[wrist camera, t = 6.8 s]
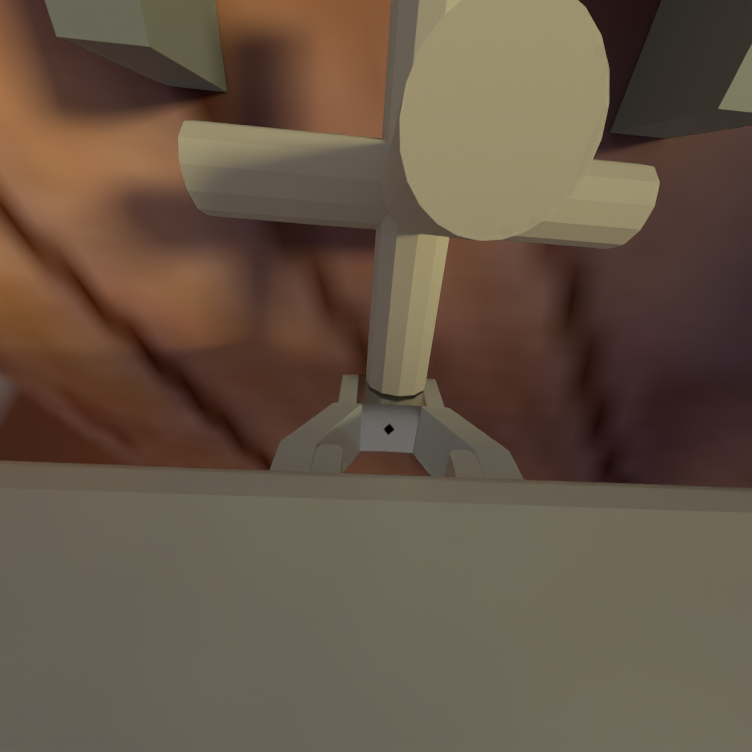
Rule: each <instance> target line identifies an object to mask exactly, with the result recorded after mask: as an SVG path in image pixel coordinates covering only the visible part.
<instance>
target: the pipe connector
mask: <svg viewBox="0 0 752 752" xmlns="http://www.w3.org/2000/svg"><path fill="white" fill-rule="evenodd" d="M608 107H609V65H608V60H607V56H606V52H605V48H604V43H603V39H602V35H601V33H600V32H599V30H598V28H597V26H596V24H595V23H594V21H593V19H592V17H591V16H590V14H589V12H588V10H587V8H586V7H585V6H584V5H583V4H582V3H581V2H579V1H578V0H392V1H391V16H390V30H389V45H388V60H387V75H386V89H385V104H384V119H383V134H382V139H380V138H370V137H360V136H350V135H339V134H329V133H319V132H309V131H298V130H288V129H278V128H268V127H257V126H247V125H237V124H227V123H216V122H206V121H196V120H192V121H184V122H183V125H182V127H181V130H180V133H179V135H178V147H179V164H180V168H181V171H182V175H183V178H184V182H185V185H186V189H187V191H188V193H189V195H190V196H191V198H192V200H193V202H194V203H195V205H196V207H197V209H199V210H200V211H202V212H203V213H205V214H206V215H208V216H217V217H229V218H241V219H253V220H265V221H277V222H289V223H301V224H313V225H325V226H337V227H349V228H361V229H373V230H376V237H375V252H374V266H373V281H372V296H371V311H370V325H369V340H368V355H367V370H366V381H367V383H368V384H369V386H370V387H371V388H373V389H375V390H377V391H379V392H380V393H383V394H389V395H394V396H408V395H415V394H417V393H419V392H421V391H423V390H424V388H425V383H426V377H427V371H428V365H429V359H430V353H431V347H432V341H433V334H434V328H435V322H436V316H437V310H438V304H439V298H440V292H441V286H442V279H443V273H444V267H445V261H446V255H447V249H448V243H449V237H452V238H460V239H468V240H476V241H486V240H505V241H517V242H530V243H542V244H554V245H566V246H578V247H590V248H602V249H610V248H614V247H617V246H621V245H624V244H625V243H626V242H627V241H628V240H630V239H631V238H632V237H633V236H634V235H635V234H636V233H637V232H639V231H640V230H641V228H642V227H643V225H644V223H645V222H646V220H647V218H648V217H649V215H650V213H651V212H652V210H653V208H654V207H655V203H656V198H657V194H658V189H659V185H660V181H659V178H658V176H657V173H656V170H655V167H654V166H648V165H643V164H637V163H626V162H616V161H606V160H596V159H593V158H594V156H595V153H596V151H597V148H598V146H599V144H600V141H601V139H602V135H603V131H604V126H605V121H606V117H607V112H608Z"/></svg>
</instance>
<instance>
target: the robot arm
mask: <svg viewBox="0 0 752 752" xmlns="http://www.w3.org/2000/svg"><path fill="white" fill-rule="evenodd" d="M360 451H389V452H404V453H413V455H414V456H415V457H416V458H417V459H418V461H419V462H420V463H421V464H422V466H423V467H424V468H425V469H426V471H427V472H428V473H429V474H430V475H431V476H411V475H384V474H356V473H344V471H345V470H346V469H347V468H348V466H349V465H350V464H351V463H352V461H353V460H354V459H355V458H356V456H357V455H358V454H359V453H360ZM0 752H752V488H742V487H714V486H687V485H659V484H631V483H604V482H576V481H549V480H524V479H523V477H522V475H521V473H520V471H519V469H518V467H517V465H516V463H515V461H514V459H513V457H512V455H511V453H510V451H509V450H507V449H506V448H504V447H503V446H502V445H500V444H499V443H498V442H496V441H495V440H493V439H492V438H491V437H489V436H488V435H486V434H485V433H484V432H482V431H481V430H479V429H478V428H477V427H475V426H474V425H472V424H471V423H470V422H468V421H467V420H465V419H464V418H463V417H461V416H460V415H459V414H457V413H456V412H454V411H453V410H452V409H450V408H446V407H444V404H443V401H442V398H441V395H440V392H439V389H438V386H437V383H436V380H435V379H434V378H426V383H425V388H424V390H423V391H421V392H419V393H417V394H415V395H408V396H394V395H389V394H383V393H380V392H379V391H377V390H375V389H373V388H371V387H370V386H369V384H368V383H367V381H366V375H359V376H358V375H354V374H343V376H342V382H341V388H340V394H339V400H338V403H332V404H331V405H329V406H328V407H327V408H325V409H324V410H323V411H321V412H320V413H318V414H317V415H316V416H314V417H313V418H312V419H310V420H309V421H308V422H306V423H305V424H303V425H302V426H301V427H299V428H298V429H297V430H295V431H294V432H292V433H291V434H290V435H288V436H287V437H286V438H284V439H283V440H281V441H280V443H279V446H278V449H277V451H276V454H275V457H274V459H273V462H272V465H271V467H270V470H247V469H220V468H193V467H165V466H138V465H111V464H83V463H55V462H28V461H1V460H0Z"/></svg>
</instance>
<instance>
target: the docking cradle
mask: <svg viewBox="0 0 752 752" xmlns="http://www.w3.org/2000/svg"><path fill="white" fill-rule="evenodd" d="M45 3H46V6H47V9H48V13H49V16H50V19H51V22H52V25H53V28H54V31H55V34H56V37H58V38H61V39H63V40H65V41H67V42H69V43H72V44H74V45H76V46H78V47H81V48H83V49H85V50H87V51H89V52H92V53H94V54H96V55H98V56H101V57H103V58H105V59H107V60H109V61H112V62H114V63H116V64H118V65H121V66H123V67H125V68H127V69H130V70H132V71H134V72H136V73H138V74H141V75H143V76H145V77H147V78H150V79H152V80H154V81H156V82H158V83H161V84H163V85H165V86H172V87H182V88H191V89H200V90H210V91H219V92H227V86H226V78H225V70H224V63H223V55H222V48H221V40H220V32H219V25H218V17H217V10H216V2H215V0H45ZM750 125H752V0H661V2H660V5H659V7H658V10H657V12H656V15H655V17H654V20H653V23H652V25H651V28H650V30H649V33H648V36H647V38H646V41H645V43H644V46H643V48H642V51H641V54H640V56H639V59H638V61H637V64H636V67H635V69H634V72H633V74H632V77H631V80H630V82H629V85H628V87H627V90H626V92H625V95H624V98H623V100H622V103H621V105H620V108H619V111H618V113H617V116H616V118H615V121H614V123H613V126H612V129H611V131H610V133H618V134H627V135H637V136H646V137H656V138H665V139H667V138H673V137H680V136H686V135H693V134H699V133H705V132H712V131H718V130H725V129H731V128H737V127H744V126H750Z"/></svg>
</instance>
